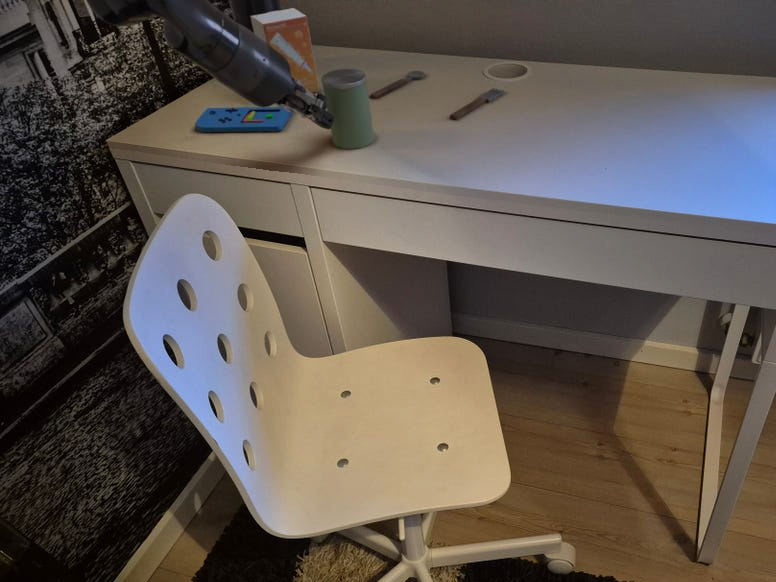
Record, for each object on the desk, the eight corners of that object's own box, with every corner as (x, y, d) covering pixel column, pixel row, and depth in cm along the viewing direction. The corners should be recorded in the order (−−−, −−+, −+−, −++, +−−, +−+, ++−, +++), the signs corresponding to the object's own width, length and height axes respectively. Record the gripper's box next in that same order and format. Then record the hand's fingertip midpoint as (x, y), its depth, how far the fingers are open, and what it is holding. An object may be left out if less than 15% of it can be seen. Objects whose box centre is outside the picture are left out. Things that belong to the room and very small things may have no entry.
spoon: (380, 100, 119) (379, 96, 119) (366, 96, 121) (366, 93, 120) (427, 75, 128) (427, 72, 127) (414, 72, 129) (414, 69, 129)
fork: (459, 120, 112) (458, 117, 112) (447, 117, 113) (447, 114, 113) (504, 93, 120) (504, 90, 120) (493, 90, 121) (493, 87, 121)
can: (331, 150, 105) (319, 86, 98) (334, 132, 110) (322, 70, 103) (374, 147, 105) (365, 83, 98) (374, 130, 110) (366, 67, 103)
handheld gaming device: (206, 106, 116) (291, 104, 116) (208, 112, 117) (293, 111, 116) (190, 125, 110) (279, 124, 109) (192, 132, 111) (281, 131, 110)
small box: (279, 101, 120) (261, 23, 111) (267, 91, 124) (249, 15, 115) (321, 91, 123) (307, 15, 114) (307, 81, 127) (293, 6, 118)
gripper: (292, 44, 83) (370, 108, 99) (222, 28, 89) (307, 91, 104) (269, 101, 83) (351, 156, 99) (202, 81, 89) (289, 136, 105)
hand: (328, 122), depth 102 cm, fingers closed
